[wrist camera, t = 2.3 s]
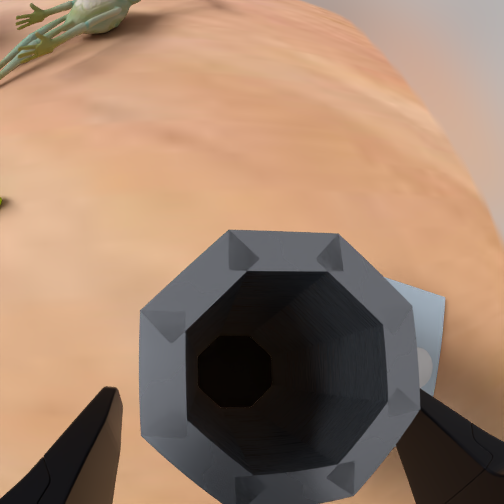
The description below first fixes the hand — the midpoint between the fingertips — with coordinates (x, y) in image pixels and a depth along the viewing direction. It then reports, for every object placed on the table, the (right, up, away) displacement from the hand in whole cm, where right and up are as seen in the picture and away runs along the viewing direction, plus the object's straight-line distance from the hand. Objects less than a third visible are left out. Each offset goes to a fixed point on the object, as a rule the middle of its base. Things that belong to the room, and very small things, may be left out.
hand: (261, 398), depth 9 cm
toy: (-20, +28, +17) cm, 39 cm away
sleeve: (-1, -2, +8) cm, 9 cm away
